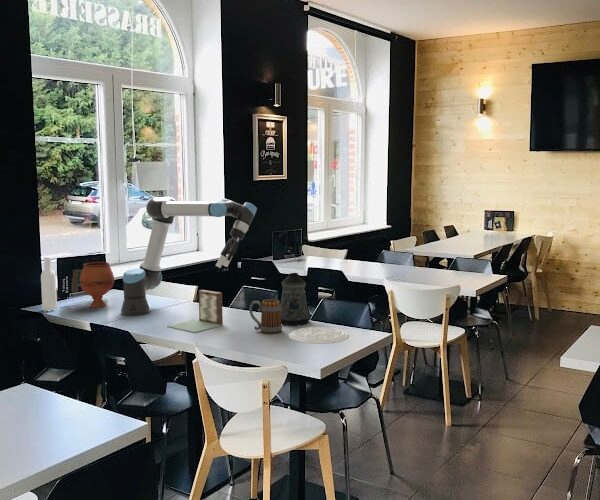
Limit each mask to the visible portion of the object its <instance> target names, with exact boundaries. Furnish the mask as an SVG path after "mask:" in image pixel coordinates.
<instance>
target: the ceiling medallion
mask: <svg viewBox="0 0 600 500" xmlns="http://www.w3.org/2000/svg"><path fill="white" fill-rule="evenodd" d="M288 337H289V339H290V340H293V341H294V342H295V341H296V342H297V343H303V344H305V343H306V344H323V345H324V344H334V343H339V342H343V341H345V340H348V339H349V337H350V335H349V333H348V332H346V331H345V330H342V329H340V328H336V327H331V326H308V327H301V328H297V329H295V330H293V331H291V332H290V333H289V334H288Z"/></svg>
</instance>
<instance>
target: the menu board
mask: <svg viewBox="0 0 600 500" xmlns="http://www.w3.org/2000/svg"><path fill="white" fill-rule="evenodd" d="M223 319H224V317H223V292H220V291H213V290H206V289H200V290H198V321H203V322H208V323H213V324H218V325H221V326H222V325H223V324H224V323H223Z"/></svg>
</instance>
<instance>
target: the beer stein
mask: <svg viewBox="0 0 600 500" xmlns="http://www.w3.org/2000/svg"><path fill="white" fill-rule="evenodd" d="M306 284H307V281H305V280H304V279H303V278H302V277H301V276H300V275H299V273H298V272H291V273H289V274H288V276H287V277H286V278H285V279H283V281H281V286H282V293H281V298H280V313H281V324H282V326H286V325H288V326H287V327H300V326H306V325H308V324H309V323H310V318H311V316H310V313H309V310H308V304H307V302H308V301H307V296H306V290H305V289H306ZM299 325H300V326H299Z"/></svg>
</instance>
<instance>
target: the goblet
mask: <svg viewBox="0 0 600 500" xmlns="http://www.w3.org/2000/svg"><path fill="white" fill-rule="evenodd" d="M82 267H83V268H82V270H81V273H80V276H79V286H80V288H81V290H82V291H83V292H84V293H85V294H86V295H88V296H89V297H90V296H91V299H92V300H93V301H92V302H91V304H90V306H91V307H90V306H89V307H90V308H93V307H99V308H104V307H106V306H107V304H106V303H105V301H104V300H103V296H104V295H106V294H107V293H108V292H110V290H111V289H112V288H113V286H114V284H115V276H114V272H113V271H112V268H111V265H110V262H106V261H92V262H87V263H83V266H82ZM103 306H104V307H103Z"/></svg>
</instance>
